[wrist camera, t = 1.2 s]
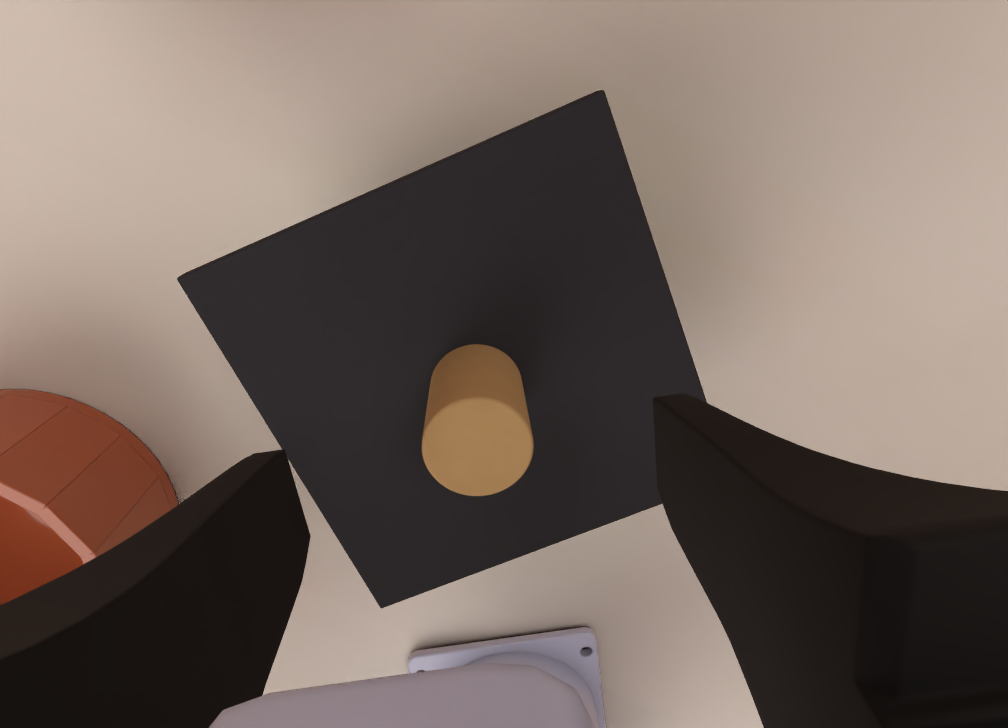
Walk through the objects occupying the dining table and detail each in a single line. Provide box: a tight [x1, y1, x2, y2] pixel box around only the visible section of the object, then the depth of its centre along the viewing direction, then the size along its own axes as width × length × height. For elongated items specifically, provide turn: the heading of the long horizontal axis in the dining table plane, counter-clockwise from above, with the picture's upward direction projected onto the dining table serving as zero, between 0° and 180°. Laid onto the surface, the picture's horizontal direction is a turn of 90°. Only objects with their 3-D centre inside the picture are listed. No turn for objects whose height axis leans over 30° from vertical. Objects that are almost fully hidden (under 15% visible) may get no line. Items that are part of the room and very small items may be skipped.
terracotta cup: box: [0, 389, 178, 605], centre depth 22 cm, size 10×10×5 cm
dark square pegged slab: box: [177, 90, 707, 608], centre depth 16 cm, size 11×11×4 cm
